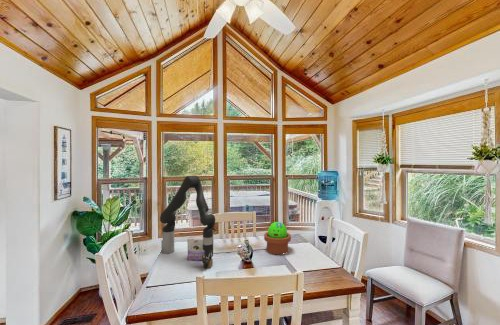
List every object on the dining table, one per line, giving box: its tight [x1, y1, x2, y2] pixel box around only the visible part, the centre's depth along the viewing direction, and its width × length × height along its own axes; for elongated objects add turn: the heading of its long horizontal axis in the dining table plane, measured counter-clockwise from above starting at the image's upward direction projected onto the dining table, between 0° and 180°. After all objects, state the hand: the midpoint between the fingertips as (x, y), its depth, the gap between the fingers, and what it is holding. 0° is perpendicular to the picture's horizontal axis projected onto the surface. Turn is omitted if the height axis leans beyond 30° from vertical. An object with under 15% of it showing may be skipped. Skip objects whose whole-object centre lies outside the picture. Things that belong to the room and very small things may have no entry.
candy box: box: [187, 236, 205, 262], centre depth 188 cm, size 14×6×16 cm, turn 84°
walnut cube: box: [202, 258, 214, 270], centre depth 176 cm, size 5×5×5 cm
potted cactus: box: [263, 221, 292, 255], centre depth 206 cm, size 22×22×25 cm
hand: (207, 265), depth 176 cm, fingers open, 6 cm apart
